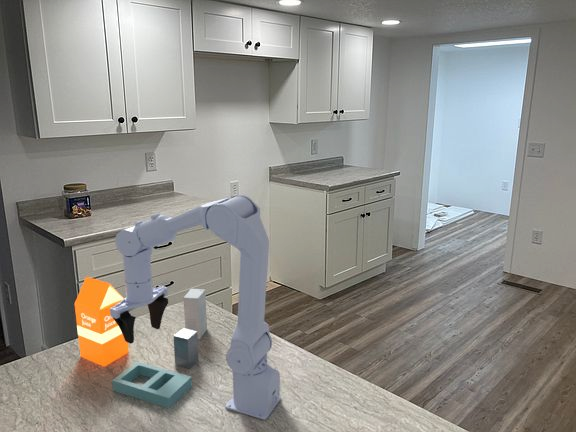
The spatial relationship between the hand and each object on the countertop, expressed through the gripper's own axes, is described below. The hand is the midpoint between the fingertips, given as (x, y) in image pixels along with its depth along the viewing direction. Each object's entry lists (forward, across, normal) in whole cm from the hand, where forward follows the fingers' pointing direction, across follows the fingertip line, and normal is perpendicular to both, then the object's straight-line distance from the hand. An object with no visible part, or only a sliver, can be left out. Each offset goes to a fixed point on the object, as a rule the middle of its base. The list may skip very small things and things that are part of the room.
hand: (142, 334), depth 107 cm
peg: (+10, -8, +5) cm, 14 cm away
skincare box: (+10, -20, -3) cm, 23 cm away
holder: (+10, +3, +6) cm, 12 cm away
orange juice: (+10, 0, -15) cm, 18 cm away
